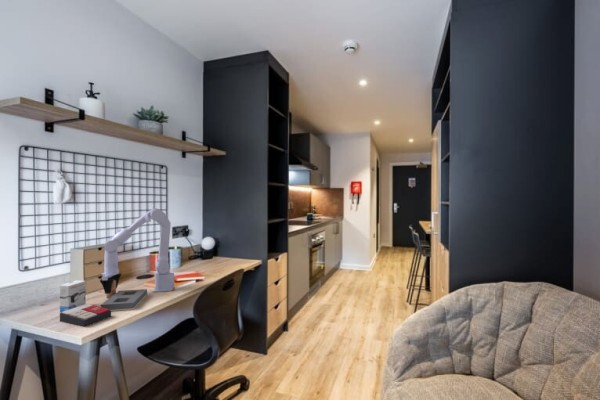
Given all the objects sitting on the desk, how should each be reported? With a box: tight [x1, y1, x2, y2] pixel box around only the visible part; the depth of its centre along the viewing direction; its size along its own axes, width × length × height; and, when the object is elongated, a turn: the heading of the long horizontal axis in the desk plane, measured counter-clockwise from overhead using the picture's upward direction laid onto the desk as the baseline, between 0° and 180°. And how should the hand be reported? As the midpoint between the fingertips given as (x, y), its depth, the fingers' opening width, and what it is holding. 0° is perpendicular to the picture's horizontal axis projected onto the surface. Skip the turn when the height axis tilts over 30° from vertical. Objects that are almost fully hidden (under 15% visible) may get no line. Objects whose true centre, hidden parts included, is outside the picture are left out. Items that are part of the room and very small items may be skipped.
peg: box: [106, 280, 117, 300], centre depth 148 cm, size 4×4×8 cm
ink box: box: [59, 279, 87, 313], centre depth 132 cm, size 8×5×12 cm, turn 168°
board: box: [100, 288, 148, 312], centre depth 140 cm, size 13×20×3 cm, turn 12°
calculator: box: [59, 303, 112, 328], centre depth 122 cm, size 11×4×15 cm
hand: (111, 291), depth 148 cm, fingers open, 7 cm apart
